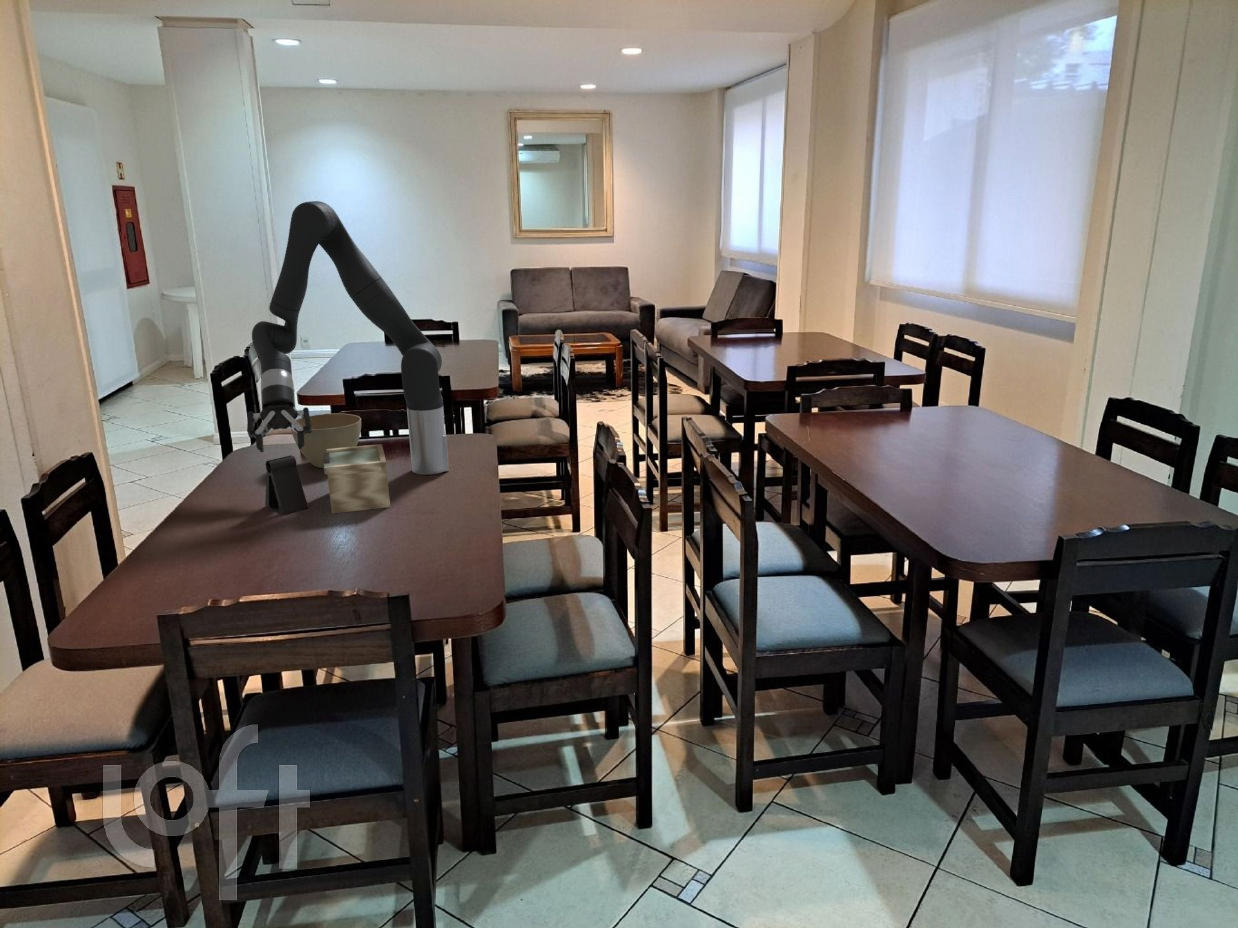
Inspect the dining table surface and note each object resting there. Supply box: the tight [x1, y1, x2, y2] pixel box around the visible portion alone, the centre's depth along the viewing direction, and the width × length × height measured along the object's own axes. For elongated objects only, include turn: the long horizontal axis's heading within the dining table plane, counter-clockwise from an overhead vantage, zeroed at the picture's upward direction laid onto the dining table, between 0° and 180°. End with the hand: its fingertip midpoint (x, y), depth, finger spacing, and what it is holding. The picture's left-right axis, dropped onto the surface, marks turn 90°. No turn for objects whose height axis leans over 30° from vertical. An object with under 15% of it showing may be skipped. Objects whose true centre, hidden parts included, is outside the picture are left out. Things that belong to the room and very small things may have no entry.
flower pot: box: [290, 413, 362, 469], centre depth 231 cm, size 18×18×12 cm
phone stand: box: [264, 454, 309, 516], centre depth 198 cm, size 9×6×12 cm, turn 48°
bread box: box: [323, 443, 391, 514], centre depth 203 cm, size 14×16×12 cm
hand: (281, 449), depth 202 cm, fingers open, 8 cm apart
